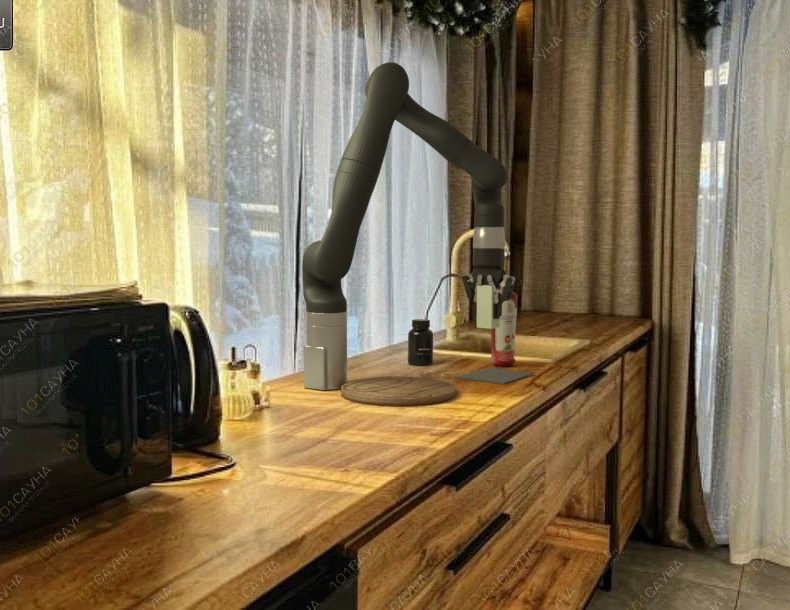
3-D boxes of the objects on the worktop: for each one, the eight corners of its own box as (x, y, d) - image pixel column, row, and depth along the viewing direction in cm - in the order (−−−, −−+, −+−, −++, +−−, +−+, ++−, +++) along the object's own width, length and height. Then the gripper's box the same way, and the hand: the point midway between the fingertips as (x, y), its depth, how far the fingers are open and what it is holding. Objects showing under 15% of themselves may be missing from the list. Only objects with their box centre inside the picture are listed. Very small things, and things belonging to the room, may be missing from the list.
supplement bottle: (423, 367, 198) (423, 321, 197) (402, 364, 202) (402, 320, 201) (438, 363, 204) (438, 319, 203) (417, 361, 208) (417, 317, 207)
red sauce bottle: (509, 362, 205) (511, 259, 203) (521, 367, 198) (522, 260, 196) (484, 363, 203) (485, 260, 201) (495, 368, 196) (496, 260, 194)
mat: (503, 384, 175) (503, 382, 175) (455, 378, 183) (455, 376, 183) (534, 374, 188) (534, 372, 188) (488, 369, 195) (488, 367, 195)
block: (491, 328, 178) (491, 285, 177) (476, 327, 181) (477, 285, 180) (499, 327, 181) (499, 284, 181) (484, 325, 184) (485, 284, 183)
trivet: (476, 392, 168) (476, 384, 168) (415, 414, 147) (415, 404, 147) (384, 380, 182) (384, 372, 182) (317, 398, 161) (317, 390, 161)
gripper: (455, 246, 180) (454, 317, 182) (508, 246, 172) (507, 321, 174) (470, 246, 186) (470, 315, 188) (523, 246, 178) (522, 318, 180)
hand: (488, 317), depth 181 cm, fingers closed on block, 4 cm apart
